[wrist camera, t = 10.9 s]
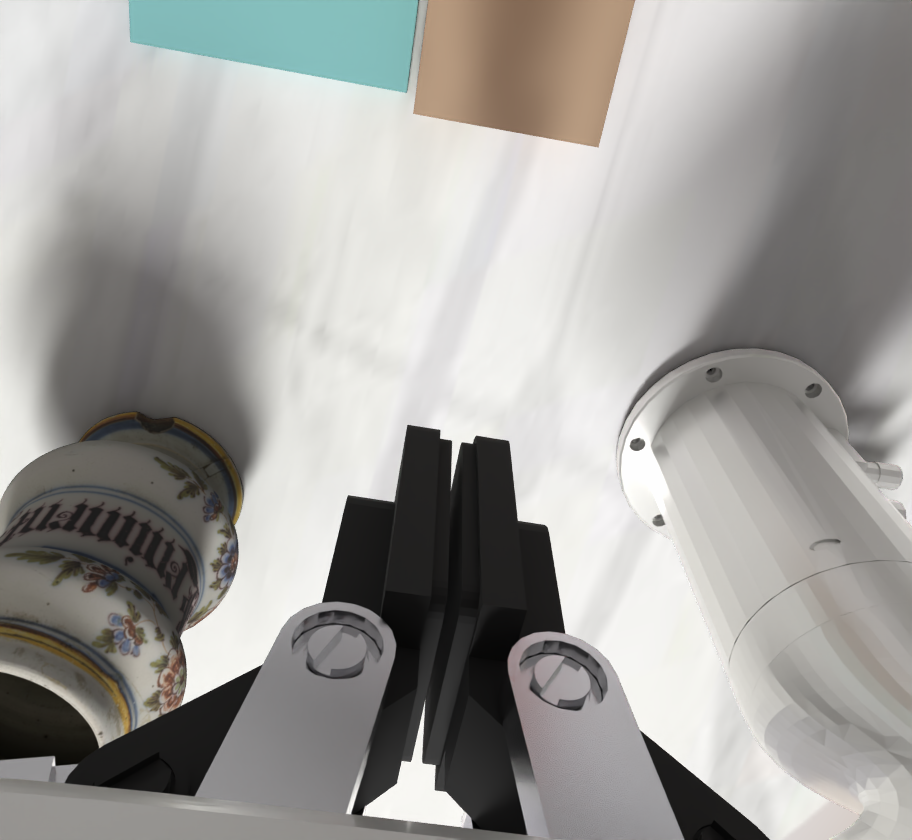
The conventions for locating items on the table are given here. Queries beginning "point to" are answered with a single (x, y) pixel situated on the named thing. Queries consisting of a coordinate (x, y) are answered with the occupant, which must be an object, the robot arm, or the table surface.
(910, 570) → the robot arm
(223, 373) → the table surface
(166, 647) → the apothecary jar
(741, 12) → the table surface
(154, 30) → the teal mat
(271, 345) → the table surface
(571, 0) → the board
